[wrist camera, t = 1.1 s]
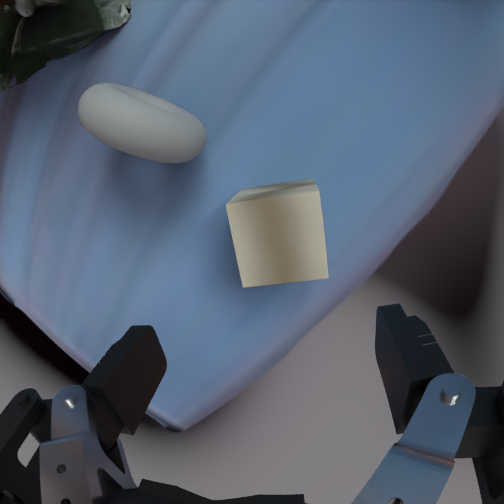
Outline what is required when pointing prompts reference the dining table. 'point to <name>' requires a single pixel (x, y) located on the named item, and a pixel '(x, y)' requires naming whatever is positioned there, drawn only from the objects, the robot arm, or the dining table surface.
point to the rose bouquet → (51, 31)
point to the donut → (141, 124)
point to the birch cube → (278, 233)
